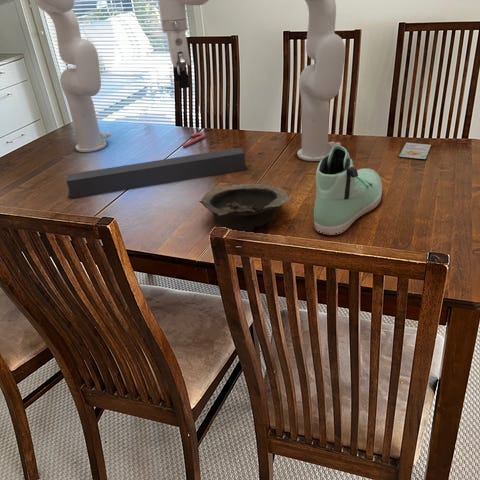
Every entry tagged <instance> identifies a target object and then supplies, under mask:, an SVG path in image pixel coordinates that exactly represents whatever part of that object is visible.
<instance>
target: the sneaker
mask: <svg viewBox="0 0 480 480" xmlns="http://www.w3.org/2000/svg"><path fill="white" fill-rule="evenodd" d="M317 165H318V166H317V168H316V172H315V201H314V207H313V225H314V229H315V231H316V232H318V233H320V234H323V235H326V236H327V235H328V236H336V235H339V234H342V233H344V232H345V231H347V230H348V229H349V228H350V227H351V226H352V225H353V224H354V222H356V221H357V220H358V219H359V218H360V217H362V216H363V215H365V214H367V213H370V212H372V210H374V209H375V208H377V207H378V205H380V203H381V200H382V196H383V184H382V183H383V182H382V179H381V176H380V175H379V173H378V172H377V171H376V170H374V169H372V168H367V167H365V168H358V169H357V168H355V167H354V161H353V159H352V158H351V156H350V153H349V152H348V150H347V148H345V147H344V146H342V145H341V146H334V147H333V148H332V149H331V152H330V154H329V155H327V156H326V157H325V158H324V159H322V160H321V161H319V163H318V164H317ZM343 230H344V231H343ZM319 231H320V232H319ZM322 232H323V233H322ZM339 232H340V233H339ZM326 233H327V234H326ZM328 233H329V234H328ZM335 233H337V234H335Z"/></svg>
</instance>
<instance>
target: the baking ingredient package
mask: <svg viewBox="0 0 480 480" xmlns="http://www.w3.org/2000/svg"><path fill="white" fill-rule="evenodd" d="M431 146H432V144H426V143H415V142H406V143H405V144H404V146H403V148H402V149H401V151H400V153H399V155H398V156H399V157H401V158H410V159H420V160H422V159H423V160H426V159H427V157H428V154H429V152H430V149H431Z"/></svg>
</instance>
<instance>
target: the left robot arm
mask: <svg viewBox="0 0 480 480" xmlns="http://www.w3.org/2000/svg"><path fill="white" fill-rule="evenodd" d="M13 1H14V0H0V6H3V5H5V4H8V3H10V2H13ZM34 2H35V4H36V5H37V7H38V8H40V10H42V11H43V12H45V13H46V14H47V15H48V16H49V17H50V19H51V20H52V23H53V25H54V30H55V34H56V41H57V47H58V54H59V57H60V60H61V61H63V63H65V64H68V65H72V66H75V67H70V68H66V69H65V70H63V71H62V73H61V74H60V77H59V82H60V86H61V90H62V92H63V94H64V96H65V99H66V102H67V105H68V108H69V112H70V117H71V119H72V124H73V128H74V132H75V137H76V140H77V144H76V145H75V147H74V148H75V151H77V152H80V153H91V152H96V151H100V150H102V149H104V148H105V147H106V146H107V141H106V139H108V138H110V137H112V133H111V132H110V131H108V132H101V130H100V127H99V122H98V118H97V113H96V109H95V104H94V100H93V98H92V97H95V96H97V95H98V93H99V92H100V90H101V87H102V79H101V78H102V77H101V70H100V60H99V54H98V51H97V48H96V46H95V45H94V44H93V42H92V41H90V40H88V39H86V38H82V35H81V29H80V23H79V20H78V18H77V16H76V14H75V12H74V11H73V8H74V6H75V0H34Z"/></svg>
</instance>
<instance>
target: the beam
mask: <svg viewBox="0 0 480 480" xmlns="http://www.w3.org/2000/svg"><path fill="white" fill-rule="evenodd" d="M246 169H247V168H246V155H245V151H244V150H243V149H242V148H241V147H235V148H229V149H222V150H215V151H209V152H201V153H197V154H190V155H182V156H177V157H171V158H170V157H169V158H165V159H158V160H157V159H156V160H152V161H145V162H139V163H138V162H137V163H132V164H125V165H120V166H119V165H118V166H114V167H106V168H101V169H94V170H88V171H81V172H75V173H68V174H67V175H66V185H67V188H68V192H69V195H70V199H76V198H82V197H88V196H94V195H102V194H106V193H113V192H119V191H124V190H130V189H136V188H137V189H138V188H142V187H149V186H155V185H161V184H167V183H173V182H179V181H186V180H191V179H197V178H203V177H209V176H216V175H221V174H222V175H223V174H227V173H234V172H240V171H245V170H246Z"/></svg>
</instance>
